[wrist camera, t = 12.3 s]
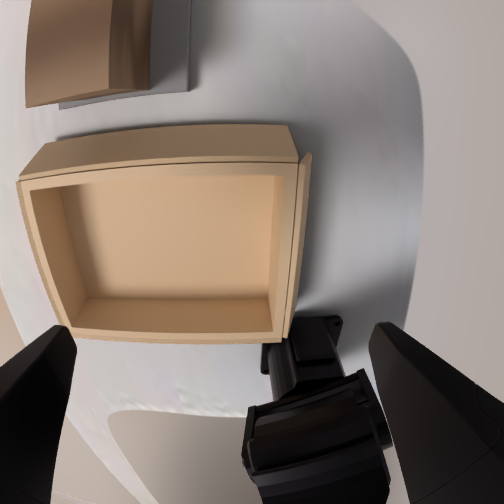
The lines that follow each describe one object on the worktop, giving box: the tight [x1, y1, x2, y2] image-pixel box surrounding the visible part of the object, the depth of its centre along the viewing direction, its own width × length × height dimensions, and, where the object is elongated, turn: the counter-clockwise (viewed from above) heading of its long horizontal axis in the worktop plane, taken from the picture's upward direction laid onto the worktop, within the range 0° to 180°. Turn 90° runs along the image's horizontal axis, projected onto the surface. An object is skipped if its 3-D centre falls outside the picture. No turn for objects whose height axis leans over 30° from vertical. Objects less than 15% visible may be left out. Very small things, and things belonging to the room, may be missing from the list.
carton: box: [16, 124, 312, 344], centre depth 17 cm, size 14×18×4 cm
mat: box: [59, 0, 191, 110], centre depth 12 cm, size 8×8×1 cm
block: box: [25, 0, 153, 108], centre depth 9 cm, size 8×4×6 cm, turn 178°
